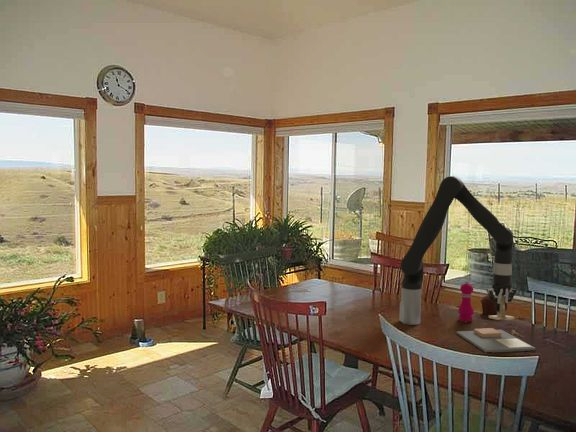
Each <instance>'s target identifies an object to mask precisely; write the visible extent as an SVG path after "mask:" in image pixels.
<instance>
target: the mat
mask: <svg viewBox="0 0 576 432" xmlns="http://www.w3.org/2000/svg"><path fill="white" fill-rule="evenodd" d="M496 330H497V331H499V332H501V337H481V336H479V335H477V334H476V333H474V330H460V331H459V330H458V331H456V335H458V336H459V337H461V338H463V339H464V340H466V341H467V342H469V343H470V344H472V345H473V346H475V347H476V348H477V349H479V350H481V351H483V352H484V353H486V354H488V353H487V352H492V353H504V352H505V353H506V352H507V353H508V352H525V351H528V352H530V351H536V347H534V346H533V345H531V344H529V343H527V342H525V341H524V340H522V339H520V338H518V337H517V336H514V335H512V334H510V333H508V332H506V331H505V330H503V329H496ZM514 338H517V339H519V340H521V341H523V342H524V343H526V344H528V345H530V346H532V347H525V348H508V347H506V346H505V345H503V344H501V343H500V342H498V341H496V340H495V339H514Z"/></svg>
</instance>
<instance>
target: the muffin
mask: <svg viewBox="0 0 576 432" xmlns="http://www.w3.org/2000/svg"><path fill="white" fill-rule="evenodd" d="M480 303H481V310H482V314H483V315H485V316H487V317H489V316H492V315H497V311H496V310H495V302H493V301H491V300H490V297H489V295H488V294H486V295H484V296H483V297H482V298H481V300H480Z"/></svg>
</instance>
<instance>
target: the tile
mask: <svg viewBox="0 0 576 432" xmlns="http://www.w3.org/2000/svg"><path fill="white" fill-rule="evenodd" d="M497 330H498V329H495V328H493V327H488V328H487V327H484V328H483V327H482V328H474V329H473V331H474V333H476V334H477V335H479V336H481V337H501V332H499V331H497Z"/></svg>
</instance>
